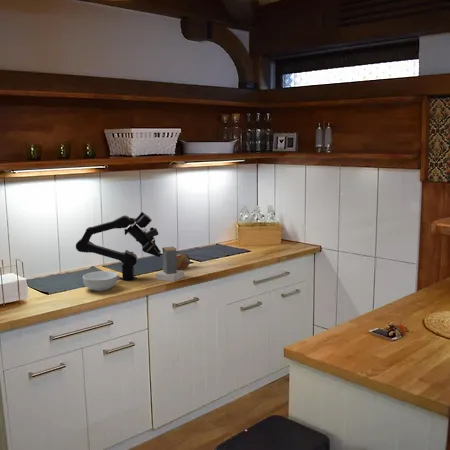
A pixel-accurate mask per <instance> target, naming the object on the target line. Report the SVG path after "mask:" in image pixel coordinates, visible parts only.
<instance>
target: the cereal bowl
mask: <svg viewBox="0 0 450 450" xmlns="http://www.w3.org/2000/svg"><path fill="white" fill-rule="evenodd" d="M82 282H83V285H84V286H85V288H88V289H89V290H93V291H94V292H105V291H107V290H109V289H111V288H113V287H114V286H115V285H116V284H117V282H118V273H116V272H114V271H111V270H110V271H108V270H107V271H106V270H105V271H104V270H102V271H101V270H99V271H91V272H88V273H85V274H83V276H82Z"/></svg>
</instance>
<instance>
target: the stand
mask: <svg viewBox="0 0 450 450" xmlns="http://www.w3.org/2000/svg"><path fill="white" fill-rule="evenodd" d="M184 277H185V271H184V270H177V273H172V274H166V273H164V272H163V270H161V271H158V272H157V273H155V280H161V281H165V282H166V281H168V282H176V281H179V280H180V279H182V278H184Z"/></svg>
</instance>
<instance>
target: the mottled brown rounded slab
mask: <svg viewBox="0 0 450 450" xmlns="http://www.w3.org/2000/svg"><path fill="white" fill-rule="evenodd" d="M190 262H191V260H190V256H189V254H187V253H180V254H176V264H177V270H179V271H182V270H184V269H187V268H189V265H190Z"/></svg>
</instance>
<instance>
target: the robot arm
mask: <svg viewBox="0 0 450 450" xmlns="http://www.w3.org/2000/svg"><path fill="white" fill-rule="evenodd" d="M151 222H152V218H151V217H150V216H149V215H148V214H146V213H145V212H143V211H142V212H140V213H139V215H138V216H136V218H134V217H130V216H128V215H126V214H125V215H122V216H120V217H117V218H115V219H114V220H112V221H108V222H104V223H102V224H98V225H94V226H89V227H87V228H86V229H85V232H84V234H83V236H82V237H81V239H79V240H78V241H77V242H76V244H75V249H76V251H77V252H78V253H79V252H80V253H84V254H85V253H87V254H88V253H90V254H91V253H93V254H97V255H100V256H103V257H107V258H111V259H114V260H117V261H119V262H121V263H122V264H121V272H122V273H121V274H122V275H121V276H122V277H121V278H120V279H119V281H120V280H121V281H125V282H126V281H127V282H128V281H129V282H130V281H134V280H136V279H137V277H136V276H135V265H136V264H137V263H138V255H137V254H136V253H134V251H130V250H125V251H123V252H121V251H118V250H115V249H111V248H107V247H105V246H104V247H103V246H100V245H96V244H95V243H93V242H92V241H90V240H91V238H92V236H93V235H96V234H99V233H103V232H106V231H110V230H114V229H116V230H117V229H123V230H124V235H127V234H129V235H130V236H132V237H133V238H134V239H135V241H136V242H138V243H139V244H140V245H141V247H142V248H141V251H142V252H143V253H145V254H148V255H152V256H154V257H155V256H156V257H158V258H160V257H161V253H162V251H161V250H160V248H159V247H158V246H157V244H156V238H155V236H156V237H157V236H158V235H159V234H160V233H159V231H158V229H157V228H156V227H150V228H149V230H148V231H144V230H142V229H145V228H146V227H147V226H148V225H149V224H150V223H151Z"/></svg>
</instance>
